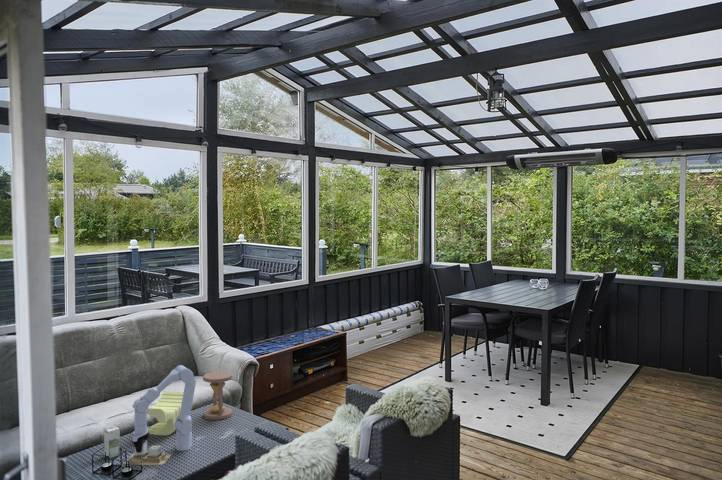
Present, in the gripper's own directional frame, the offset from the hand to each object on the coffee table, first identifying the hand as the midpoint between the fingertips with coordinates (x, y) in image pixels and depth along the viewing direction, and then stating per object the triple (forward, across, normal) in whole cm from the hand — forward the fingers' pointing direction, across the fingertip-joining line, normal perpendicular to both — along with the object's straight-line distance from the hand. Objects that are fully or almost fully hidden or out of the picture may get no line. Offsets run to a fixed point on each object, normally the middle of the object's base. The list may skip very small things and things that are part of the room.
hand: (141, 450), depth 278 cm
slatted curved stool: (+6, -40, -4) cm, 41 cm away
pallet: (+5, 0, +4) cm, 6 cm away
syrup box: (+6, -5, -18) cm, 19 cm away
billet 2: (+4, 0, +7) cm, 8 cm away
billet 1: (+2, 0, 0) cm, 2 cm away
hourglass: (+6, -66, +20) cm, 69 cm away
